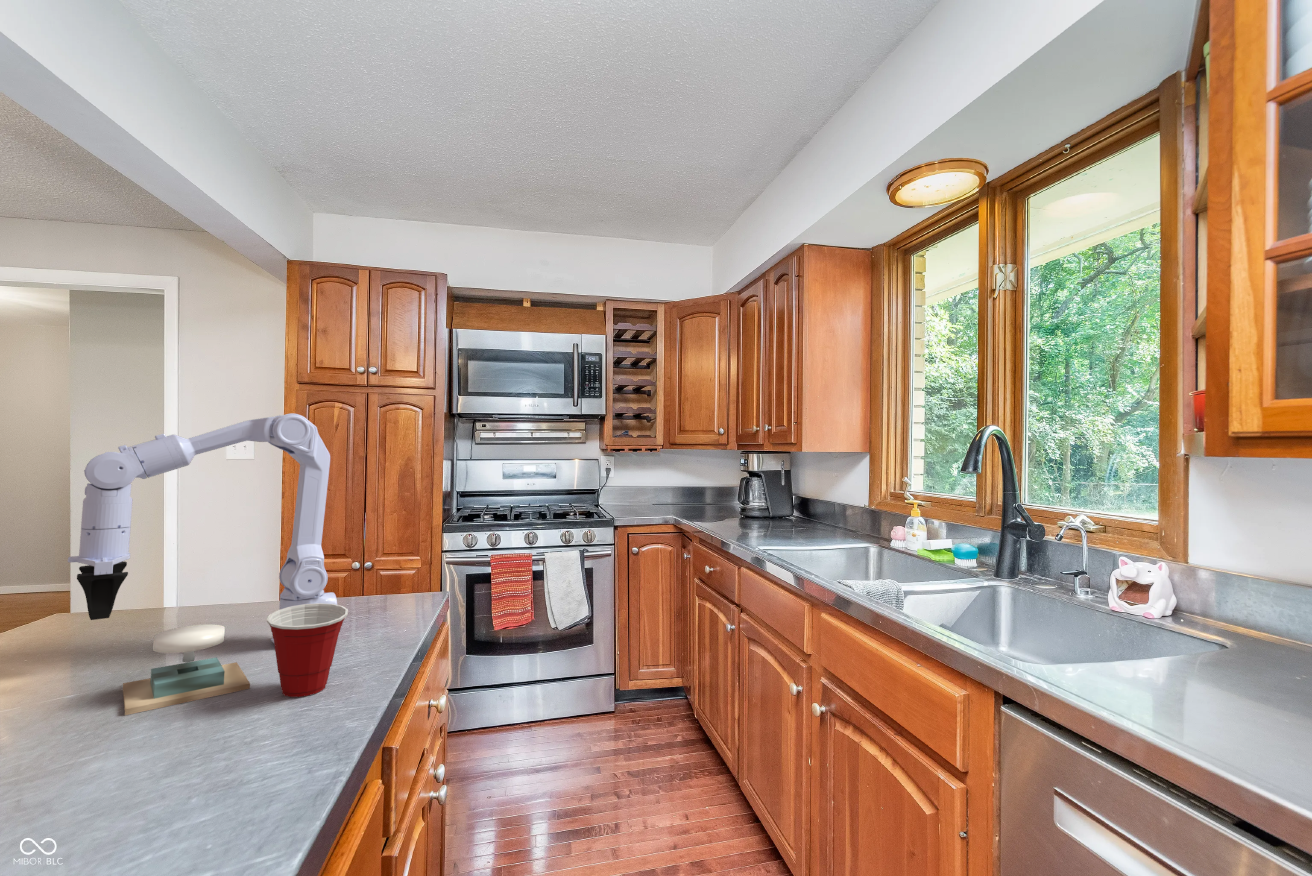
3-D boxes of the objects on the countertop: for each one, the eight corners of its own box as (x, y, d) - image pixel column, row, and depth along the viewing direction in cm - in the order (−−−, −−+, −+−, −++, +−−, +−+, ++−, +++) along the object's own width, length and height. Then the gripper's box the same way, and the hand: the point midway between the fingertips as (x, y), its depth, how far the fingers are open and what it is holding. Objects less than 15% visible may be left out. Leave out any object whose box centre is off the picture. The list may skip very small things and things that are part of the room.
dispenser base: (236, 667, 95) (237, 650, 95) (249, 688, 86) (250, 670, 87) (122, 688, 85) (123, 669, 85) (124, 715, 77) (126, 694, 77)
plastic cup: (264, 712, 79) (269, 625, 79) (259, 686, 87) (263, 608, 88) (350, 694, 86) (355, 614, 86) (338, 672, 94) (342, 599, 95)
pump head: (218, 648, 92) (220, 621, 92) (227, 661, 86) (228, 633, 86) (150, 659, 86) (152, 631, 86) (153, 675, 80) (155, 644, 80)
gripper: (72, 524, 92) (66, 608, 92) (67, 534, 82) (60, 628, 81) (131, 522, 97) (125, 601, 97) (133, 531, 87) (127, 620, 86)
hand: (100, 613), depth 89 cm, fingers open, 7 cm apart
